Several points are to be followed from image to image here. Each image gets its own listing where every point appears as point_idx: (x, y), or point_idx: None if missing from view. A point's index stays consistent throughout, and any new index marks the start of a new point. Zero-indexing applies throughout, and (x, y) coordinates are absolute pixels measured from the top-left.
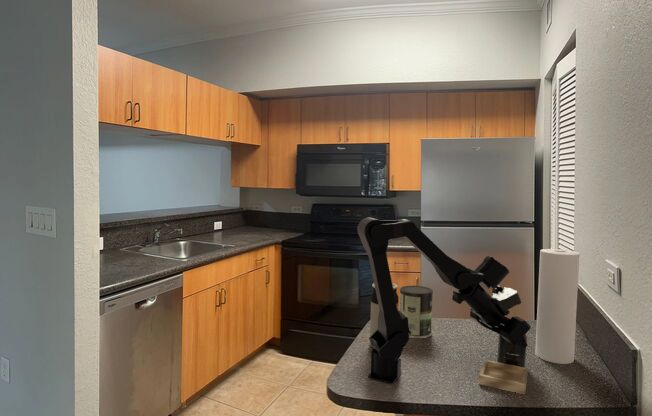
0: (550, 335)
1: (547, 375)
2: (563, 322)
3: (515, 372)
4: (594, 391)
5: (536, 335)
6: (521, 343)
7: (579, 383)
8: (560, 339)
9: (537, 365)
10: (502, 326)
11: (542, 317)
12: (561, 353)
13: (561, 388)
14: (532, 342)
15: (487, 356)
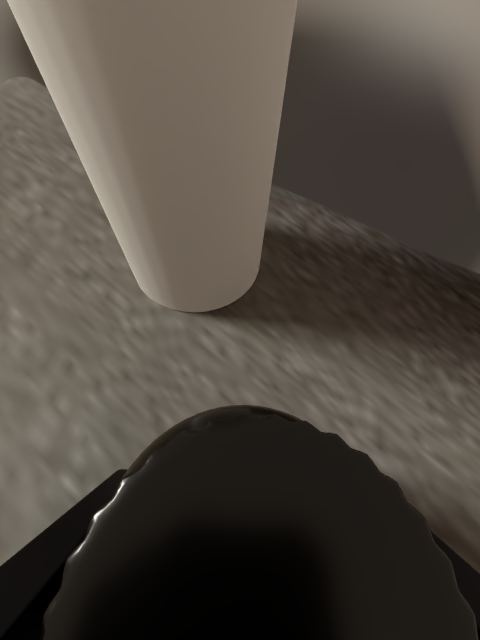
0: (231, 218)
1: (345, 400)
2: (281, 92)
3: None
4: (464, 329)
5: (135, 245)
6: None
7: (408, 331)
8: (262, 205)
9: (251, 371)
10: (36, 626)
11: (159, 123)
12: (259, 252)
13: (462, 432)
14: (68, 243)
15: None
